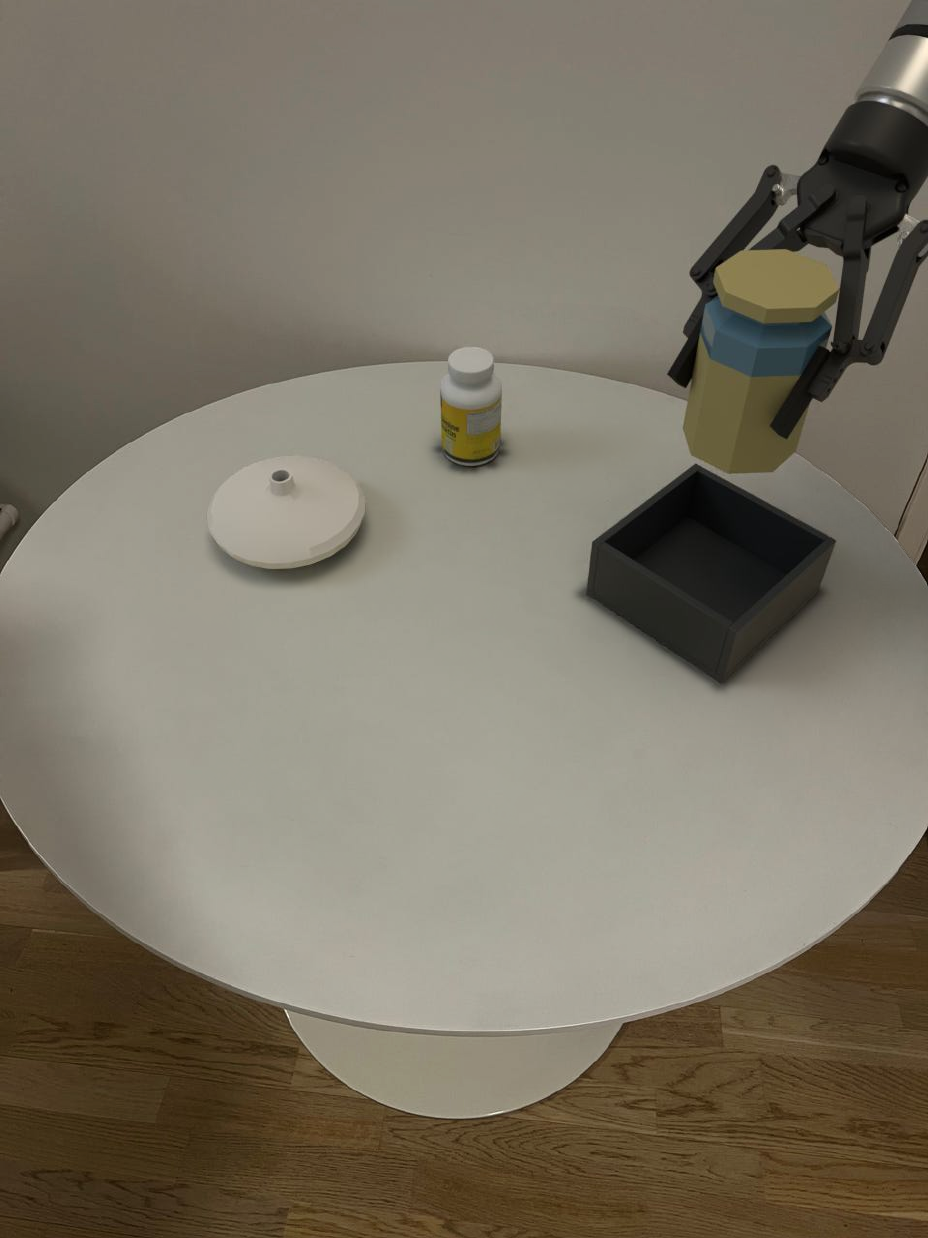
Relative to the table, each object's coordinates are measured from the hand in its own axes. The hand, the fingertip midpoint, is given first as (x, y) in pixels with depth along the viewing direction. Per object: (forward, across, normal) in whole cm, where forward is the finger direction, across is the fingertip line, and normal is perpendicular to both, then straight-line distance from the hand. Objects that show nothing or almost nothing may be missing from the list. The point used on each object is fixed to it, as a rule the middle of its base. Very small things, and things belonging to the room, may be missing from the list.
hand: (726, 406), depth 77 cm
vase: (+30, +35, -4) cm, 46 cm away
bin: (+14, 0, -19) cm, 24 cm away
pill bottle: (+14, +31, -19) cm, 39 cm away
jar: (+2, 0, -6) cm, 7 cm away
